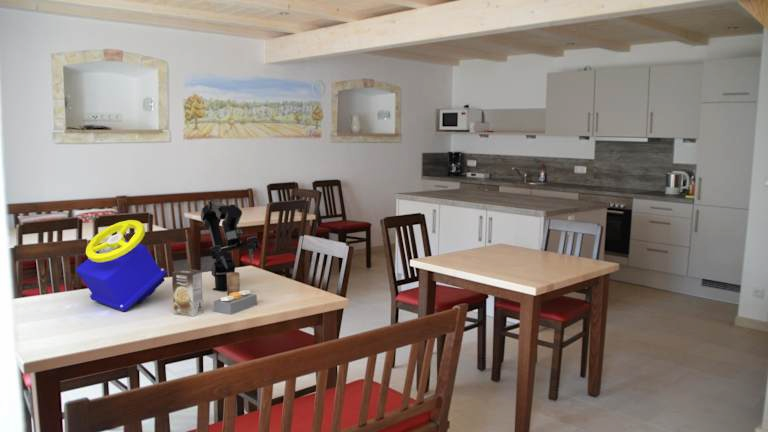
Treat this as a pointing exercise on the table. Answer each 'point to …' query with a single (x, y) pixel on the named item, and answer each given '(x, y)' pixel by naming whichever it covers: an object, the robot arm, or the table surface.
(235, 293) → the block
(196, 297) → the coffee box
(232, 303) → the switch panel
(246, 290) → the block
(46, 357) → the table surface
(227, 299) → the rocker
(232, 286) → the wood post
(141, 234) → the control box
